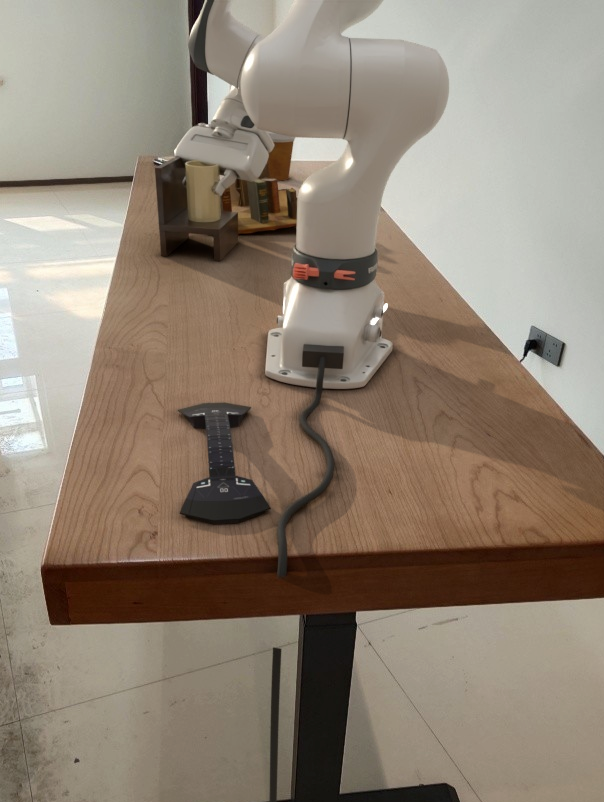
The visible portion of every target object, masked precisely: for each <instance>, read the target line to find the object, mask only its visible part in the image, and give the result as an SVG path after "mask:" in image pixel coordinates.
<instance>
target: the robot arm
mask: <svg viewBox="0 0 604 802" xmlns="http://www.w3.org/2000/svg"><path fill="white" fill-rule="evenodd" d="M233 2H234V0H204V2H203V5H202V7H201V10H200V12H199V15H198V17H197V19H196V20H195V22H194V24H193V26H192V28H191V30H190V34H189V38H188V44H187V47H188V51H189V55H190V57H191V59H192V62H193V64H194V66H195V67H196V68H197V69H200V70H201V71H204V72H206V73H208V74H210V75H213V76H215V77H217V78H218V79H220V80H222V81H223V82H225V83H227V84H229V85H230V89H229V92H228V93H227V95H226V96H225V97H224V98H223V99H222V100H221V102H220V104H219V106H218V107H217V109H216V112H215V113H214V115H213V117H212V119H211V120H210V124H209V123H208V124H207V123H205V122H200V123H198V124H196V125H194V126H192V127H191V128H189V129H188V131H186V133H185V134H184V136H183V137H182V138H181V139H180V141H179V142H178V144H177V146H176V147H175V149H174V152H173V153H174V154H173V155H174V157H176V156H178V157H181V159H182V161H183V163H184V165H185V163H186V162H189V161H200V163H201V164H206V165H211V166H215V165H217V164H218V165H219V170H220V176H222V178H220V181H219V182H215V183H214V186H213V187H212V192H214V194H216V195H220V196H221V195H222V194H223V192H224V190H225V189H226V188H228V187H229V186H230V185H232V184H233V183H234V182H235V180H236V178H237V179H241V180H246V181H251V182H253V181H254V180H256V179H257V178H258V177H259V176H260V175H261V173H262V171H263V169H264V167H265V165H266V163H267V161H268V158H269V153H270V152H271V151H272V150H273V148H274V143H273V141H272V139H271V137H270V135H269V134H268V132H267V131H269V132H272V133H276V134H280V135H285V136H289V137H295V138H302V139H303V138H306V139H307V138H309V139H338V140H339V139H342V140H344V141H346V146H345V149H344V151H343V153H342V154H341V156H340V157H339V158H338V159H337V160H335V161H334V162H332V163H330V164H328V165H326V166H325V167H322V168H320V169H318V170H316V171H315V172H313V173H312V174H310V175H309V176H308V177H307V178H306V179H305V180H304V181H303V183H302V184H301V186H300V187H299V189H298V193H297V196H296V197H297V226H296V235H295V244H294V245H293V247H292V254H291V259H290V264H291V267H290V276H291V277H290V278H289V279H287V280H286V281H285V282H283V299H282V300H283V301H282V302H283V303H282V304H283V305H282V315H277V317H276V324H277V326H281V327H275V328H272V329H269V330H268V333H267V341H266V342H267V344H266V354H265V355H266V356H265V367H264V369H265V370H264V375H265V377H268V378H270V379H271V380H274V381H278V382H281V383H284V384H285V383H286V384H290V385H295V386H301V387H308V388H315V393H314V397H313V400H312V402H311V403H310V405H309V406H308V407H306V408H305V409H304V410H302V411H301V413H300V414H299V425H300V427H301V429H302V430H303V431H304V433H306V434H307V436H308V437H310V438H311V439H312V440H313V441H315V443H316V444H318V446H320V447H321V449H322V450H323V453H324V456H325V460H326V471H325V474H324V476H323V478H322V481H321V482H320V483H319V485H317V487H315V488H314V489H312V490H311V491H310V492H308V493H307V494H305V495H303V496H302V497H300V498H298V499H296V500H295V501H294V502H293V503H291V504H290V505H289V506H287V508H286V509H285V510H284V511H283V513H282V514H281V516H280V518H279V520H278V522H277V527H276V538H277V550H278V553H277V554H278V555H277V556H278V557H277V573H276V574H277V577H278V578H280V579H284V578H286V576H287V571H288V542H287V533H286V528H287V525H288V523H289V520H290V519H291V517H292V516H293V515H294V514H295V513H296V512H297V511H299V509H301V508H302V507H304V506H305V505H307V504H309V503H310V502H312V501H314V500H315V499H317V498H318V497H320V496H321V495H322V494H323V493H324V492H325V491H326V490H327V489H328V487H329V486H330V484H331V482H332V481H333V480H332V479H333V477H334V474H335V458H334V454H333V451H332V449H331V446H330V445H329V443H327V441H326V439H324V437H322V436H321V435H320V434H319V433H318V432H317V431H315V430H314V429H313V428H312V427H311V426H310V425H309V424H308V421H307V417H308V416H309V415H310V414H312V412H313V411H314V410H315V409H316V408H317V407H318V406H319V404H320V402H321V398H322V395H323V389H331V390H351V389H358V388H364V387H365V386H366V385H367V384H368V383H369V381H370V380H371V379H372V377H373V376H374V375H375V374H376V373H377V371H378V370H379V368H381V366H382V365H383V364H384V362H385V361H386V360H387V358H388V357H389V356H390V354H391V353H392V352H393V342H392V341H390V340H388V339H386V338H384V337H382V333H383V320H384V313H385V312H386V311H387V309H388V305H389V304H388V303H385V292H384V290H382V288H380V287H379V285H378V283H377V282H376V280H375V279H376V276H377V269H378V264H379V258H378V256H379V255H378V253H379V252H378V249H377V248H376V243H377V233H378V226H379V218H380V212H381V207H382V201H383V197H384V193H385V189H386V187H387V184H388V182H389V179H390V177H391V175H392V173H393V172H394V170H395V168H396V166H397V165H398V163H399V162H400V160H401V159H402V158H403V157H404V155H405V154H406V153H407V152H408V151H409V150H410V149H411V148H412V147H413V146H414V145H415V144H416V143H418V142H419V141H420V140H421V139H422V138H424V137H425V136H427V135H428V134H429V133H430V132H432V130H433V129H434V128H435V127H436V126H437V125H438V123H439V122H440V120H441V119H442V117H443V115H444V113H445V110H446V107H447V105H448V101H449V95H450V78H449V71H448V69H447V66H446V63H445V62H444V59H443V57H442V56H441V54H440V53H439V51H438V50H437V49H435V48H433V47H429V46H426V45H423V44H420V43H417V42H412V41H408V40H404V39H392V38H391V39H390V38H365V37H364V38H363V37H349V36H345V35H342V34H343V33H344V32H345V31H347V30H348V29H349V28H351V27H354V26H355V25H356V24H359V23H361V22H363V21H364V20H366V19H367V18H369V17H370V16H371V15H372V14H373V13H375V12H376V10H377V9H378V8H380V7H381V5H382V4H383V2H384V0H293V1H292V4H291V6H290V7H289V10H288V12H287V13H286V14H285V16H284V17H283V19H282V21H281V22H280V23H279V24H278V25H277V27H276V28H274V30H273V31H271V32H270V33H269V34H268V35H266V36H264V35H262V34H260V33H258V32H257V31H255V30H253V29H252V28H250V27H248V26H247V25H245V24H244V23H242V22H241V21H238V20H237V19H236V18H235V17H234V16H233V14H232V13H231V11H230V9H231V8H232V4H233ZM185 175H186V173H185ZM182 184H183V185H184V187H185V188H186V176H185V178H184V179H183V181H182ZM271 663H272V664H271V687H270V691H271V692H270V727H269V729H270V730H269V731H270V732H269V734H270V735H269V736H270V737H269V739H270V740H269V745H270V746H269V799H268V800H269V802H278V798H277V797H278V761H279V727H280V726H279V724H280V693H281V691H280V690H281V668H282V666H281V665H282V648H279V647H272V662H271Z"/></svg>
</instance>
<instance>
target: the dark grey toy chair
mask: <svg viewBox="0 0 604 802" xmlns="http://www.w3.org/2000/svg"><path fill="white" fill-rule="evenodd" d="M154 176H155V177H154V178H155V190H156V191H155V192H156V206H157V217H158V218H157V219H158V229H159V230H158V233H159V245H160V246H159V248H160V257H168V256H169V255H170V254H171V253H172V252H174V251H175V250H176V249H177V248H178V247H180V246H181V245H182V244H183V243H185V242H186V241H187V240H188V239H189V238H190V234H194V235H204V236H205V235H206V236H209V235H210V236H213V257H214V258H213V261H214V262H221V261H222V260H223V259H224V258H225V257H226V256H227V255H228V254H229V252H231V250H233V248H235V246H236V245H237V244H238V243H239V234H238V212H229V211H221V216H220V217H221V218H220V220H218V221H215V222H194V221H191V220H189V219H188V212H187V192H186V188H185V187H184V185H183V184H182V181H183V179H184V178H185V176H186V175H185V165H184V163H183V161H182V159H181V157H178V156H176V157H175V156H174V157H173V158H170V159H169V160H167V161H165V162H163V163H162V164H161V163H160V164H159V165H157V166H156V167H155V166H154Z"/></svg>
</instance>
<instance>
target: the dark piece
mask: <svg viewBox="0 0 604 802" xmlns="http://www.w3.org/2000/svg"><path fill="white" fill-rule="evenodd" d="M251 409H252V406H248V405H241V404H236V403H229V402H204V403H199V404H195V405H192V406H187V407H183V408H178V409H177V412H179V413H180V414H182V415H183V417H184V418H185V420H186V421H187V422H188V423H189V424H190V426H192V427H193V428H192V429H206V430H205V432H206V444H207V457H208V475H209V476H208V477H205V478H203V479H200V480H198V481H195V482H193V483H192V485H191V487H190V490H189V492H188V494H187V495H186V497H185V500H184V502H183V504H182V505H181V507H180V510H179V515H182V516H185V517H184V518H188V519H191V520H195V521H199V522H202V523H203V522H204V523H207V524H211V525H229V524H231V525H232V524H240V523H242V522H244V521H247V520H250V519H253V518H255V517H258V516H261V515H263V514H265V513H266V512H267V511H269V510H271V509H272V507H271V506H270V504H269V502H268V501H267V499H266V498H265V496H264V494H263V493H262V492H261V491H260V489H259V488H258V486H257V485H256V483H255V482H254V480H253V479H250V478H247V477H242V476H239V475H236V466H235V457H234V456H235V455H234V448H233V440H232V438H233V437H232V432H231V428H237V427H240V425H241V423H242V421H243V420H244V418H245V416H246V414H247V413H248V412H249V411H250V410H251Z"/></svg>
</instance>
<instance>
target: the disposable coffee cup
mask: <svg viewBox="0 0 604 802" xmlns="http://www.w3.org/2000/svg"><path fill="white" fill-rule="evenodd" d="M267 132H268V134H269V135H270V137H271V139H272V141H273V143H274V148H273V150H272V151H271V152H270V153H269V158H268V161H267V162H268V171H269V178H276V179H277V181H287V180H289V179H290V178H289V177H290V170H291V163H292V157H293V148H294V141H295V139H296V137H289V136H285V135H280V134H276V133H272V132H269V131H267Z"/></svg>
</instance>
